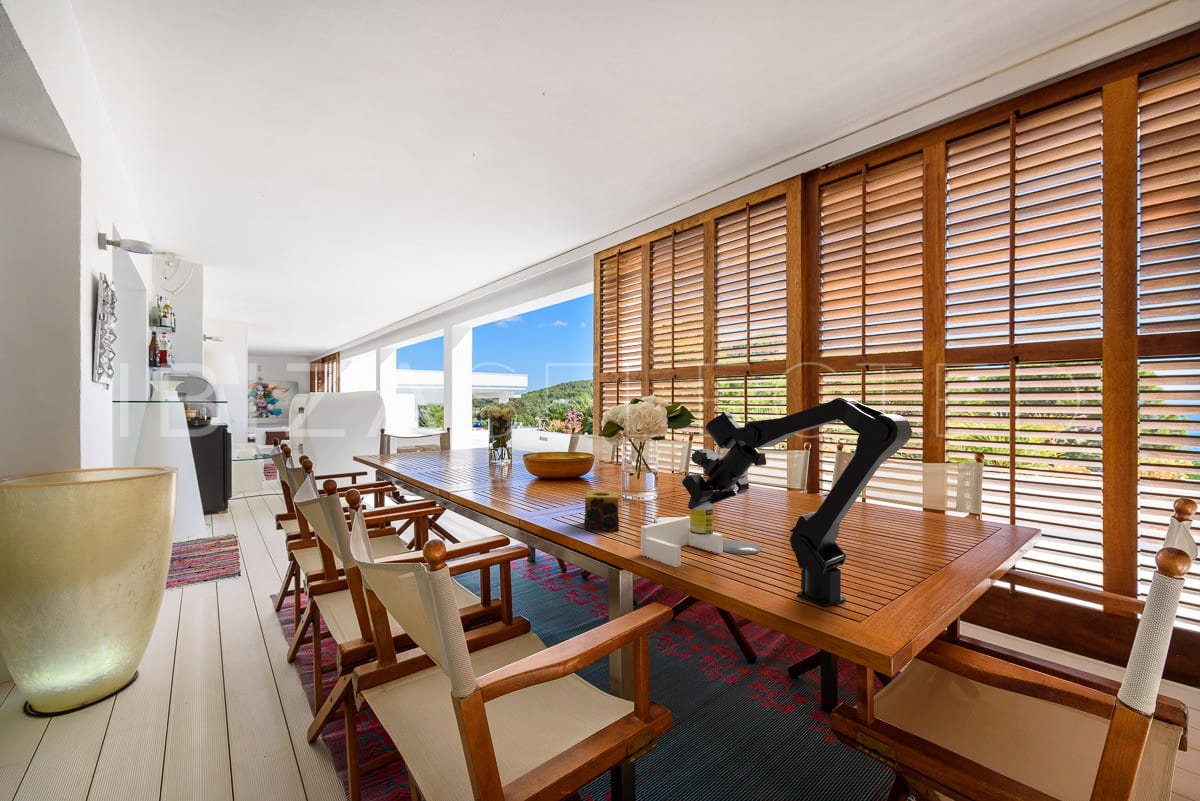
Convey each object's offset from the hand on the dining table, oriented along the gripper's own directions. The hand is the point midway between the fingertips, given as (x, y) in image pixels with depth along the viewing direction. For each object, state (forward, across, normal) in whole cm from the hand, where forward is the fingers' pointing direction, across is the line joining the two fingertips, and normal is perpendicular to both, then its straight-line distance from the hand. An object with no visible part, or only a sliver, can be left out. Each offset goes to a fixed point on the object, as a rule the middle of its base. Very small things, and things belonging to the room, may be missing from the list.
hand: (697, 506), depth 121 cm
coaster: (+8, -15, +10) cm, 20 cm away
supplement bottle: (+4, 0, +6) cm, 7 cm away
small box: (+20, -8, -3) cm, 22 cm away
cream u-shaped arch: (+12, 0, +6) cm, 13 cm away
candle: (+34, -1, -18) cm, 39 cm away
